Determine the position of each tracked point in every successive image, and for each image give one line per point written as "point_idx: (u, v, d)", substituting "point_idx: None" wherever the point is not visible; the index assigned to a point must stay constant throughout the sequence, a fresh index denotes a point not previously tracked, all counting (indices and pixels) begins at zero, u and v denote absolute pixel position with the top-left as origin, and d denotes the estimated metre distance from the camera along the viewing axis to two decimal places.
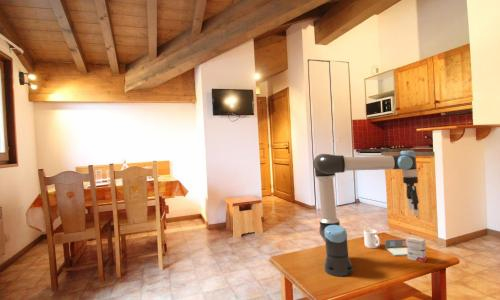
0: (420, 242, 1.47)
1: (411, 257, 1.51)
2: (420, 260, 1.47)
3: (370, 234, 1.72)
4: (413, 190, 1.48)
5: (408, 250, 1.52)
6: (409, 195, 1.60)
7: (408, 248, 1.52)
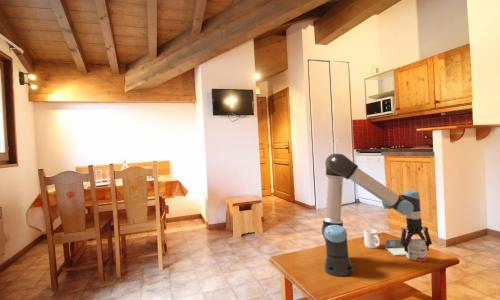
0: (420, 242, 1.47)
1: (411, 257, 1.51)
2: (420, 260, 1.47)
3: (370, 234, 1.72)
4: (402, 232, 1.52)
5: None
6: None
7: None
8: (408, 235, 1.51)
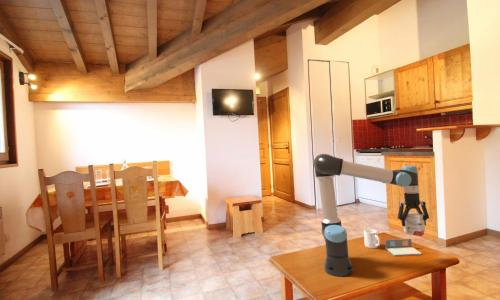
0: (417, 216, 1.47)
1: (408, 231, 1.51)
2: (417, 233, 1.48)
3: (370, 234, 1.72)
4: (400, 206, 1.52)
5: None
6: None
7: None
8: (406, 209, 1.52)
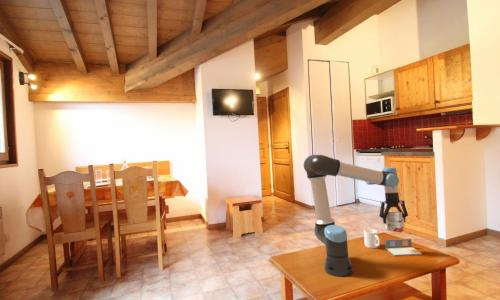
0: (397, 214, 1.59)
1: (389, 228, 1.63)
2: (397, 230, 1.59)
3: (370, 234, 1.72)
4: (381, 205, 1.64)
5: None
6: None
7: None
8: (386, 208, 1.63)
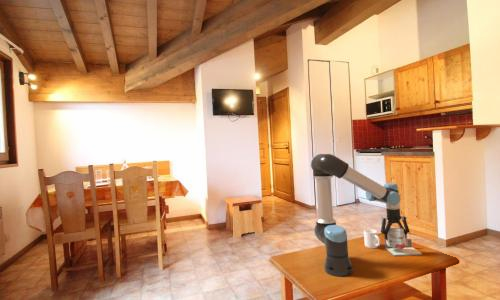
0: (398, 230, 1.59)
1: (391, 244, 1.63)
2: (398, 246, 1.59)
3: (370, 234, 1.72)
4: (383, 221, 1.64)
5: None
6: None
7: None
8: (388, 224, 1.63)
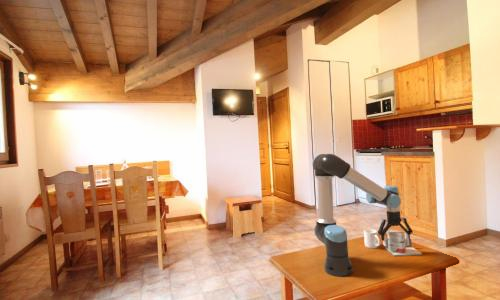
0: (399, 234, 1.59)
1: (391, 248, 1.63)
2: (399, 251, 1.59)
3: (370, 234, 1.72)
4: (382, 222, 1.64)
5: (389, 242, 1.64)
6: (403, 229, 1.63)
7: (389, 240, 1.64)
8: (387, 226, 1.63)
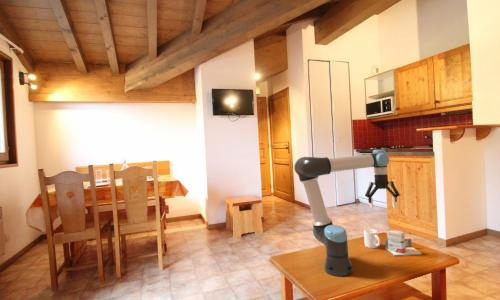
0: (399, 234, 1.59)
1: (391, 248, 1.63)
2: (399, 251, 1.59)
3: (370, 234, 1.72)
4: (369, 185, 1.66)
5: (389, 242, 1.64)
6: None
7: (389, 240, 1.64)
8: (374, 189, 1.65)
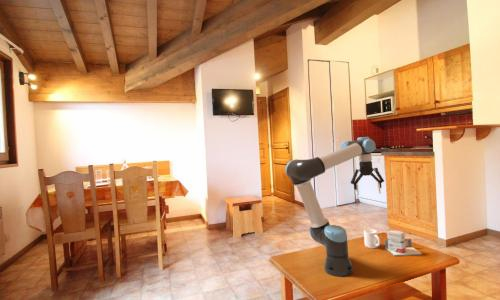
0: (399, 234, 1.59)
1: (391, 248, 1.63)
2: (399, 251, 1.59)
3: (370, 234, 1.72)
4: None
5: (389, 242, 1.64)
6: (375, 179, 1.68)
7: (389, 240, 1.64)
8: (359, 175, 1.68)
